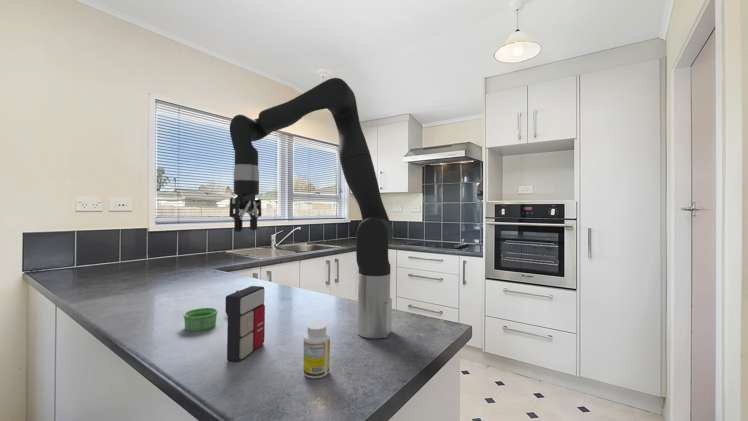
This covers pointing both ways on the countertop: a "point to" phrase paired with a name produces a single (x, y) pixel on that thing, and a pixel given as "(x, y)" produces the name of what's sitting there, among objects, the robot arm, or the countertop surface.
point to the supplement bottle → (316, 351)
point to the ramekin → (200, 319)
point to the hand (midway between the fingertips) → (246, 230)
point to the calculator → (245, 322)
